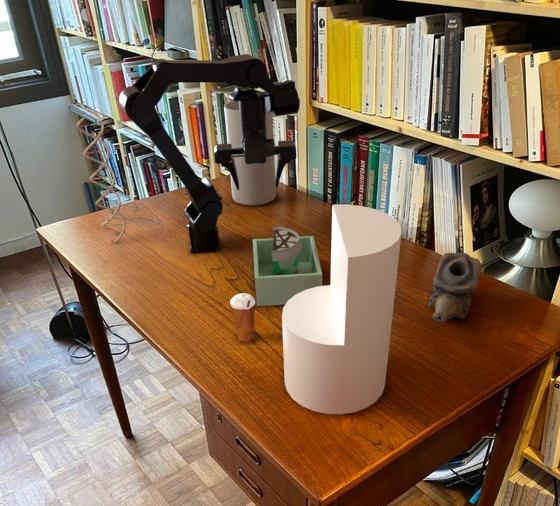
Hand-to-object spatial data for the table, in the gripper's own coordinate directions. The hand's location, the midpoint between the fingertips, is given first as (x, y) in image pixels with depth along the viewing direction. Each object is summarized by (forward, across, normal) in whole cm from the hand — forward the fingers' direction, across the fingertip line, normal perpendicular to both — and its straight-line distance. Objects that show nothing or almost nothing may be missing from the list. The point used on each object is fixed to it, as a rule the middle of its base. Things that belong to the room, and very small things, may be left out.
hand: (257, 188), depth 135 cm
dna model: (+12, -37, +3) cm, 39 cm away
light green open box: (+12, +5, -25) cm, 28 cm away
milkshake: (+12, -4, -45) cm, 47 cm away
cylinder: (+12, +11, -59) cm, 61 cm away
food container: (+12, +6, -25) cm, 28 cm away
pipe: (+12, +36, -42) cm, 57 cm away
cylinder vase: (+12, -1, +24) cm, 27 cm away
